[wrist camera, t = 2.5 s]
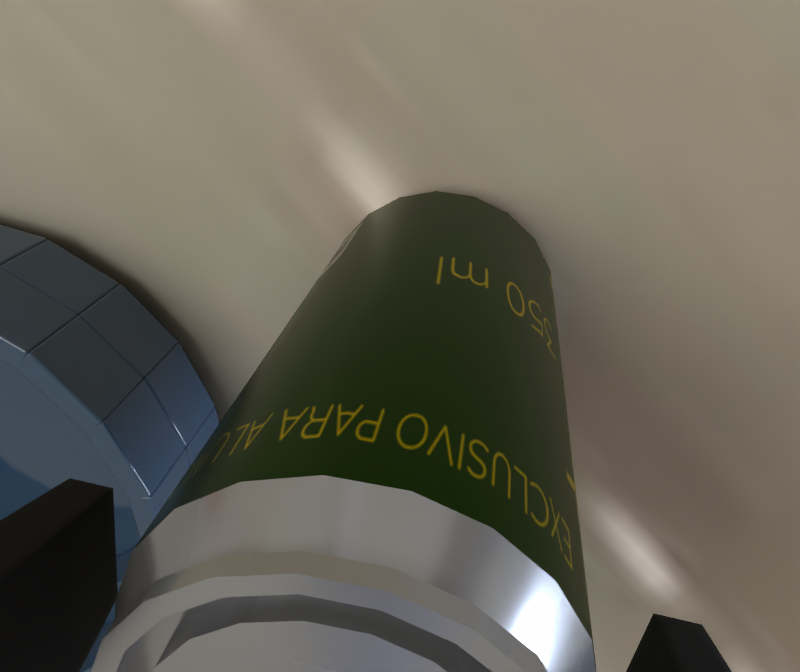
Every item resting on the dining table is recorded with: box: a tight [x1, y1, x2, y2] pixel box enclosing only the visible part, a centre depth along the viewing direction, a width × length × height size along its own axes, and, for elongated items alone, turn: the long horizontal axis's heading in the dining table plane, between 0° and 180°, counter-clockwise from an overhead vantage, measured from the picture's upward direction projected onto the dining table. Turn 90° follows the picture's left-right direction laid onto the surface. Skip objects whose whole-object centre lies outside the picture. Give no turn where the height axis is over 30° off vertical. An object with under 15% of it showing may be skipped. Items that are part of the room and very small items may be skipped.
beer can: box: [91, 191, 596, 672], centre depth 12 cm, size 5×5×12 cm
